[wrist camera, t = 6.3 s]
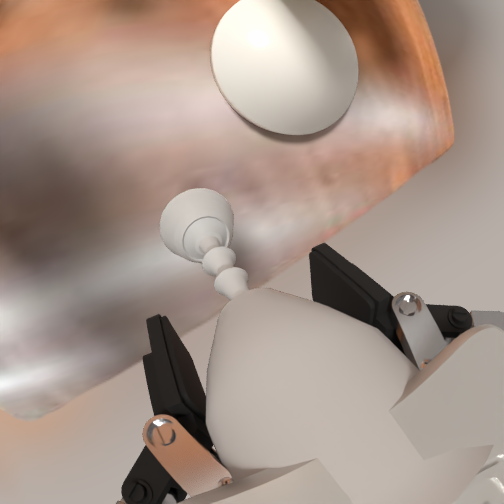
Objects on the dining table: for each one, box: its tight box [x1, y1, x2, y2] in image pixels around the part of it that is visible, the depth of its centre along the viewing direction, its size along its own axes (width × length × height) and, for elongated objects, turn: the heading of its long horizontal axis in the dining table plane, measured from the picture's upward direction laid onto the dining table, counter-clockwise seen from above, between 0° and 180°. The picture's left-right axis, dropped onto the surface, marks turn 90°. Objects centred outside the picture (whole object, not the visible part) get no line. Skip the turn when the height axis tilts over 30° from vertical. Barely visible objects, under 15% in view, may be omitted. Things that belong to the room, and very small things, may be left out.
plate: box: [210, 0, 359, 135], centre depth 21 cm, size 16×16×1 cm
